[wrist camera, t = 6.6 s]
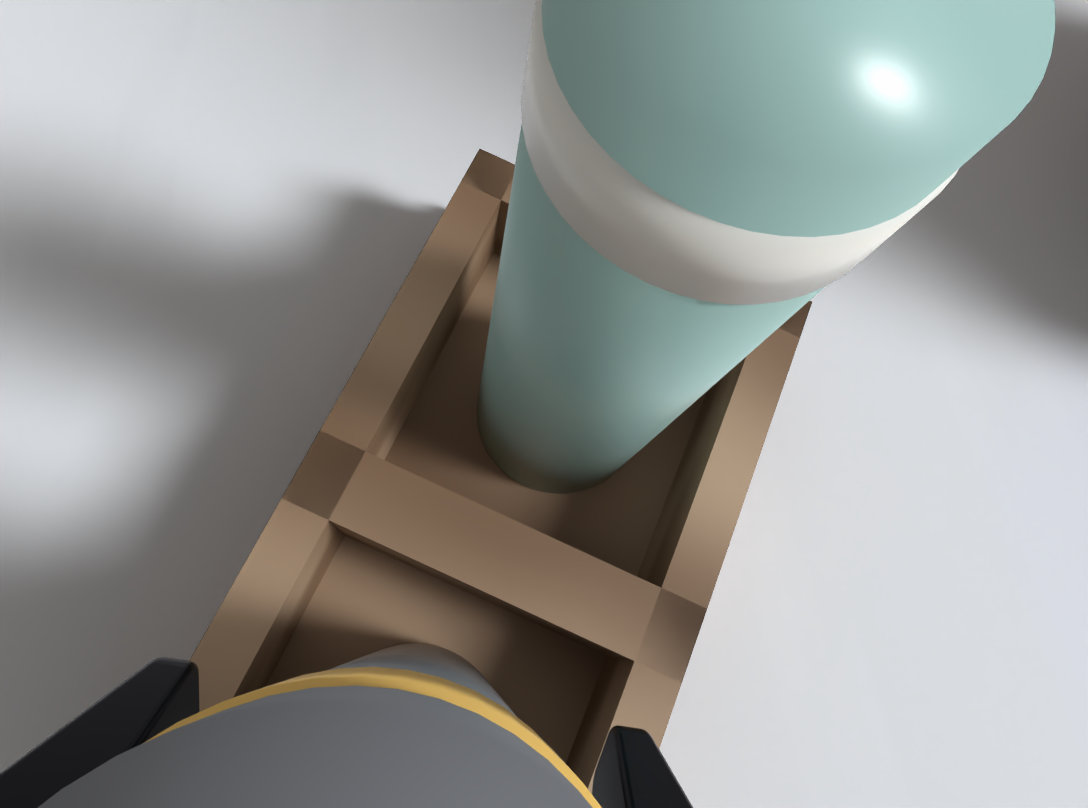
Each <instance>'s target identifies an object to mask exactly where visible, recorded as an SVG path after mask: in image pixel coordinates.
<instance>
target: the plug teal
mask: <svg viewBox="0 0 1088 808" xmlns="http://www.w3.org/2000/svg"><path fill="white" fill-rule="evenodd" d="M1054 34H1055V2H1054V0H536V2H535V8H534V15H533V22H532V28H531V35H530V42H529V48H528V55H527V62H526V68H525V75H524V82H523V91H522V99H521V112H522V125H521V132H520V138H519V144H518V150H517V157H516V163H515V169H514V176H513V182H512V188H511V194H510V201H509V207H508V213H507V219H506V226H505V232H504V238H503V245H502V251H501V257H500V263H499V270H498V276H497V282H496V288H495V295H494V301H493V307H492V314H491V320H490V326H489V332H488V339H487V345H486V351H485V357H484V364H483V370H482V376H481V382H480V389H479V395H478V402H477V423H478V429H479V433H480V436H481V439H482V442H483V444H484V446H485V448H486V450H487V452H488V453H489V455H490V457H491V458H492V460H493V461H494V462H495V463H496V464H497V466H498V467H499V468H500V469H501V470H502V471H503V472H504V473H506V474H507V475H508V476H509V477H511V478H512V479H514V480H515V481H517V482H518V483H520V484H522V485H524V486H526V487H529V488H531V489H534V490H537V491H541V492H545V493H553V494H569V493H575V492H580V491H583V490H587V489H590V488H592V487H594V486H596V485H598V484H600V483H602V482H603V481H605V480H606V479H608V478H609V477H610V476H611V475H612V474H614V473H615V472H616V471H617V470H618V469H619V468H621V467H622V466H623V465H624V464H625V463H626V462H627V461H628V460H630V459H631V458H632V457H633V456H634V455H635V454H636V453H637V452H639V451H640V450H641V449H642V448H643V447H644V446H645V445H647V444H648V443H649V442H650V441H651V440H652V439H653V438H654V437H656V436H657V435H658V434H659V433H660V432H661V431H662V430H664V429H665V428H666V427H667V426H668V425H669V424H670V423H671V422H673V421H674V420H675V419H676V418H677V417H678V416H679V415H681V414H682V413H683V412H684V411H685V410H686V409H687V408H688V407H690V406H691V405H692V404H693V403H694V402H695V401H696V400H697V399H699V398H700V397H701V396H702V395H703V394H704V393H705V392H707V391H708V390H709V389H710V388H711V387H712V386H713V385H714V384H716V383H717V382H718V381H719V380H720V379H721V378H722V377H724V376H725V375H726V374H727V373H728V372H729V371H730V370H731V369H733V368H734V367H735V366H736V365H737V364H738V363H739V362H741V361H742V360H743V359H744V358H745V357H746V356H747V355H748V354H750V353H751V352H752V351H753V350H754V349H755V348H756V347H757V346H759V345H760V344H761V343H762V342H763V341H764V340H765V339H767V338H768V337H769V336H770V335H771V334H772V333H773V332H774V331H776V330H777V329H778V328H779V327H780V326H781V325H782V324H784V323H785V322H786V321H787V320H788V319H789V318H790V317H791V316H793V315H794V314H795V313H796V312H797V311H798V310H799V309H800V308H802V307H803V306H804V305H805V304H806V303H807V302H808V301H810V300H811V299H812V298H813V297H814V296H815V295H816V294H817V293H819V292H820V291H821V290H822V289H823V288H824V287H826V286H827V285H829V284H831V283H832V282H834V281H836V280H837V279H839V278H841V277H842V276H844V275H846V274H847V273H848V272H849V271H850V270H852V269H853V268H854V267H855V266H856V265H858V264H859V263H860V262H861V261H862V260H864V259H865V258H866V257H867V256H868V255H869V254H870V253H872V252H873V251H874V250H875V249H876V248H877V247H879V246H880V245H881V244H882V243H883V242H884V241H885V240H887V239H888V238H889V237H890V236H891V235H892V234H894V233H895V232H896V231H897V230H898V229H899V228H900V227H902V226H903V225H904V224H905V223H906V222H907V221H908V220H910V219H911V218H912V217H913V216H914V215H915V214H917V213H918V212H919V211H920V210H921V209H922V208H923V207H925V206H926V205H927V204H928V203H929V202H930V201H932V200H933V199H934V198H935V197H936V196H937V195H938V194H940V193H941V191H942V190H943V189H944V188H945V187H946V185H947V184H948V183H949V182H950V181H951V180H952V178H953V177H954V176H955V175H956V173H957V171H958V170H959V168H960V167H961V166H962V165H963V164H965V163H966V162H967V161H968V160H969V159H970V158H971V157H973V156H974V155H975V154H976V153H977V152H978V151H979V150H980V149H982V148H983V147H984V146H985V145H986V144H987V143H988V142H990V141H991V140H992V139H993V138H994V137H995V136H996V135H997V134H999V133H1000V132H1001V131H1002V130H1003V129H1004V128H1005V127H1007V126H1008V125H1009V124H1010V123H1011V122H1012V121H1013V120H1014V119H1015V118H1016V117H1017V116H1018V115H1019V113H1020V112H1021V111H1022V110H1023V109H1024V107H1025V106H1026V105H1027V104H1028V103H1029V102H1030V100H1031V99H1032V97H1033V95H1034V93H1035V92H1036V90H1037V88H1038V86H1039V85H1040V83H1041V81H1042V79H1043V77H1044V74H1045V71H1046V69H1047V66H1048V63H1049V60H1050V57H1051V53H1052V47H1053V41H1054Z"/></svg>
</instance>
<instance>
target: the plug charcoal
mask: <svg viewBox="0 0 1088 808" xmlns="http://www.w3.org/2000/svg"><path fill="white" fill-rule="evenodd" d="M38 808H602V807H601V806H600V804H599V803H598V802H597V800H596V799H595V798H594V797H593V795H592V794H591V793H590V791H589V790H588V789H587V787H586V786H585V785H584V784H583V782H582V781H581V780H580V779H579V778H578V777H577V776H576V775H575V774H574V772H573V771H572V770H571V769H570V768H569V767H568V766H567V765H566V764H565V762H564V761H563V760H562V759H561V758H560V757H559V756H558V755H557V754H556V753H555V751H554V750H553V749H552V748H551V747H550V746H549V745H548V744H547V743H546V742H545V741H544V740H543V739H542V738H541V737H540V736H539V735H538V734H537V733H536V732H535V731H534V730H533V729H532V728H531V727H529V726H528V725H527V724H525V723H524V722H523V721H521V720H520V719H519V718H518V717H517V716H516V715H515V714H514V713H513V711H512V710H511V709H510V708H509V707H508V705H507V704H506V703H505V702H504V701H503V699H502V698H501V697H500V696H499V695H498V693H497V692H496V691H495V690H494V688H493V687H492V686H491V685H490V684H489V682H488V681H487V680H486V679H485V678H484V676H483V675H482V674H481V673H480V672H479V671H478V670H477V669H476V668H475V667H474V666H473V665H472V664H471V663H470V662H468V661H467V660H466V659H464V658H463V657H461V656H460V655H458V654H456V653H454V652H453V651H450V650H448V649H445V648H443V647H439V646H435V645H431V644H423V643H405V644H399V645H394V646H390V647H387V648H384V649H381V650H378V651H376V652H373V653H371V654H368V655H365V656H363V657H360V658H358V659H355V660H352V661H350V662H347V663H345V664H342V665H339V666H337V667H334V668H332V669H329V670H326V671H321V672H316V673H310V674H305V675H301V676H298V677H295V678H291V679H288V680H285V681H282V682H279V683H276V684H272V685H269V686H266V687H263V688H260V689H258V690H255V691H252V692H249V693H246V694H243V695H240V696H237V697H234V698H231V699H229V700H226V701H223V702H221V703H218V704H216V705H214V706H212V707H210V708H207V709H205V710H203V711H201V712H199V713H197V714H194V715H192V716H190V717H188V718H186V719H183V720H181V721H179V722H177V723H175V724H174V725H172V726H170V727H169V728H167V729H166V730H164V731H162V732H161V733H159V734H157V735H156V736H154V737H152V738H151V739H149V740H147V741H146V742H144V743H143V744H141V745H139V746H137V747H134V748H132V749H130V750H128V751H126V752H124V753H121V754H119V755H117V756H115V757H114V758H112V759H110V760H109V761H107V762H105V763H104V764H102V765H101V766H99V767H97V768H96V769H94V770H92V771H91V772H89V773H87V774H86V775H84V776H82V777H81V778H79V779H77V780H76V781H74V782H73V783H71V784H69V785H68V786H66V787H64V788H63V789H61V790H60V791H59V792H57V793H56V794H55V795H53V796H52V797H51V798H49V799H48V800H47V801H46V802H44V803H43V804H42V805H40V806H39V807H38Z"/></svg>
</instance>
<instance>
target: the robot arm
mask: <svg viewBox="0 0 1088 808" xmlns="http://www.w3.org/2000/svg"><path fill="white" fill-rule="evenodd" d="M199 712H200V707H199V670H198V666H197V664H196V663H195V662H192V661H187V660H181V659H174V658H167V657H161V658H157V659H155V660H153V661H151V662H150V663H149V664H147V665H146V666H144V667H143V668H142V669H140V670H139V671H138V672H136V673H135V674H134V675H132V676H131V677H130V678H128V679H127V680H126V681H124V682H123V683H122V684H120V685H119V686H118V687H116V688H115V689H114V690H112V691H111V692H109V693H108V694H107V695H105V696H104V697H103V698H101V699H100V700H99V701H97V702H96V703H95V704H93V705H92V706H91V707H89V708H88V709H87V710H85V711H84V712H83V713H81V714H80V715H78V716H77V717H76V718H74V719H73V720H72V721H70V722H69V723H68V724H66V725H65V726H64V727H62V728H61V729H60V730H58V731H57V732H56V733H54V734H53V735H52V736H50V737H49V738H47V739H46V740H45V741H43V742H42V743H41V744H39V745H38V746H37V747H35V748H34V749H33V750H31V751H30V752H29V753H27V754H26V755H25V756H23V757H22V758H21V759H19V760H18V761H16V762H15V763H14V764H12V765H11V766H10V767H8V768H7V769H6V770H4V771H3V772H2V773H0V808H38V807H39V806H40V805H42V804H43V803H44V802H46V801H47V800H48V799H49V798H51V797H52V796H53V795H55V794H56V793H57V792H59V791H60V790H61V789H63V788H64V787H66V786H68V785H69V784H71V783H73V782H74V781H76V780H77V779H79V778H81V777H82V776H84V775H86V774H87V773H89V772H91V771H92V770H94V769H96V768H97V767H99V766H101V765H102V764H104V763H105V762H107V761H109V760H110V759H112V758H114V757H115V756H117V755H119V754H121V753H124V752H126V751H128V750H130V749H132V748H134V747H137V746H139V745H141V744H143V743H144V742H146V741H147V740H149V739H151V738H152V737H154V736H156V735H157V734H159V733H161V732H162V731H164V730H166V729H167V728H169V727H170V726H172V725H174V724H175V723H177V722H179V721H181V720H183V719H186V718H188V717H190V716H192V715H194V714H197V713H199ZM592 795H593V797H594V798H595V799H596V800H597V802H598V803H599V804H600V806H601V807H602V808H693V807H692V805H691V803H690V801H689V800H688V798H687V796H686V795H685V793H684V791H683V789H682V788H681V786H680V784H679V783H678V781H677V779H676V777H675V776H674V774H673V772H672V771H671V769H670V767H669V766H668V764H667V762H666V760H665V759H664V757H663V755H662V754H661V752H660V750H659V748H658V747H657V745H656V743H655V742H654V740H653V738H652V737H651V735H650V734H649V733H648V732H647V731H646V730H643V729H640V728H633V727H626V726H620V725H617V726H614V727H612V728H611V730H610V731H609V733H608V736H607V739H606V742H605V744H604V747H603V750H602V753H601V756H600V758H599V761H598V764H597V767H596V770H595V774H594V779H593V787H592Z"/></svg>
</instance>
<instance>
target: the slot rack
mask: <svg viewBox="0 0 1088 808" xmlns="http://www.w3.org/2000/svg"><path fill="white" fill-rule="evenodd" d="M514 169H515V165H514V164H512V163H510V162H508V161H506V160H503V159H501V158H499V157H497V156H495V155H493V154H490V153H488V152H486V151H484V150H482V149H479V151H478V153H477V154H476V156H475V158H474V160H473V161H472V163H471V165H470V167H469V168H468V170H467V172H466V174H465V176H464V177H463V179H462V181H461V183H460V184H459V186H458V188H457V190H456V191H455V193H454V195H453V197H452V198H451V200H450V202H449V204H448V205H447V207H446V209H445V211H444V213H443V214H442V216H441V218H440V220H439V221H438V223H437V225H436V227H435V228H434V230H433V232H432V234H431V235H430V237H429V239H428V241H427V243H426V244H425V246H424V248H423V250H422V251H421V253H420V255H419V257H418V258H417V260H416V262H415V264H414V265H413V267H412V269H411V271H410V273H409V274H408V276H407V278H406V280H405V281H404V283H403V285H402V287H401V288H400V290H399V292H398V294H397V295H396V297H395V299H394V301H393V302H392V304H391V306H390V308H389V310H388V311H387V313H386V315H385V317H384V318H383V320H382V322H381V324H380V325H379V327H378V329H377V331H376V332H375V334H374V336H373V338H372V340H371V341H370V343H369V345H368V347H367V348H366V350H365V352H364V354H363V355H362V357H361V359H360V361H359V362H358V364H357V366H356V368H355V370H354V371H353V373H352V375H351V377H350V378H349V380H348V382H347V384H346V385H345V387H344V389H343V391H342V392H341V394H340V396H339V398H338V400H337V401H336V403H335V405H334V407H333V408H332V410H331V412H330V414H329V415H328V417H327V419H326V421H325V422H324V424H323V426H322V428H321V429H320V431H319V433H318V435H317V437H316V438H315V440H314V442H313V444H312V445H311V447H310V449H309V451H308V452H307V454H306V456H305V458H304V459H303V461H302V463H301V465H300V467H299V468H298V470H297V472H296V474H295V475H294V477H293V479H292V481H291V482H290V484H289V486H288V488H287V489H286V491H285V493H284V495H283V497H282V498H281V500H280V502H279V504H278V505H277V507H276V509H275V511H274V512H273V514H272V516H271V518H270V519H269V521H268V523H267V525H266V526H265V528H264V530H263V532H262V534H261V535H260V537H259V539H258V541H257V542H256V544H255V546H254V548H253V549H252V551H251V553H250V555H249V556H248V558H247V560H246V562H245V564H244V565H243V567H242V569H241V571H240V572H239V574H238V576H237V578H236V579H235V581H234V583H233V585H232V586H231V588H230V590H229V592H228V594H227V595H226V597H225V599H224V601H223V602H222V604H221V606H220V608H219V609H218V611H217V613H216V615H215V616H214V618H213V620H212V622H211V624H210V625H209V627H208V629H207V631H206V632H205V634H204V636H203V638H202V639H201V641H200V643H199V645H198V646H197V648H196V650H195V652H194V653H193V655H192V657H191V659H190V661H192V662H195V663H196V664H197V666H198V670H199V707H200V712H201V711H203V710H205V709H207V708H210V707H212V706H214V705H216V704H218V703H221V702H223V701H226V700H229V699H231V698H234V697H237V696H240V695H243V694H246V693H249V692H252V691H255V690H258V689H260V688H263V687H266V686H269V685H272V684H276V683H279V682H282V681H285V680H288V679H291V678H295V677H298V676H301V675H305V674H310V673H316V672H321V671H326V670H329V669H332V668H334V667H337V666H339V665H342V664H345V663H347V662H350V661H352V660H355V659H358V658H360V657H363V656H365V655H368V654H371V653H373V652H376V651H378V650H381V649H384V648H387V647H390V646H394V645H399V644H405V643H423V644H431V645H435V646H439V647H443V648H445V649H448V650H450V651H453V652H454V653H456V654H458V655H460V656H461V657H463V658H464V659H466V660H467V661H468V662H470V663H471V664H472V665H473V666H474V667H475V668H476V669H477V670H478V671H479V672H480V673H481V674H482V675H483V676H484V678H485V679H486V680H487V681H488V682H489V684H490V685H491V686H492V687H493V688H494V690H495V691H496V692H497V693H498V695H499V696H500V697H501V698H502V699H503V701H504V702H505V703H506V704H507V705H508V707H509V708H510V709H511V710H512V711H513V713H514V714H515V715H516V716H517V717H518V718H519V719H520V720H521V721H523V722H524V723H525V724H527V725H528V726H529V727H531V728H532V729H533V730H534V731H535V732H536V733H537V734H538V735H539V736H540V737H541V738H542V739H543V740H544V741H545V742H546V743H547V744H548V745H549V746H550V747H551V748H552V749H553V750H554V751H555V753H556V754H557V755H558V756H559V757H560V758H561V759H562V760H563V761H564V762H565V764H566V765H567V766H568V767H569V768H570V769H571V770H572V771H573V772H574V774H575V775H576V776H577V777H578V778H579V779H580V780H581V781H582V782H583V784H584V785H585V786H586V787H587V789H588V790H589V791H590V793H591V794H592V787H593V779H594V774H595V770H596V767H597V764H598V761H599V758H600V756H601V753H602V750H603V747H604V744H605V742H606V739H607V736H608V733H609V731H610V730H611V728H612V727H614V726H617V725H620V726H626V727H633V728H640V729H643V730H646V731H647V732H648V733H649V734H650V735H651V737H652V738H653V740H654V742H655V743H656V745H657V747H658V748H659V747H660V745H661V742H662V739H663V736H664V733H665V730H666V727H667V724H668V721H669V718H670V715H671V712H672V709H673V707H674V704H675V701H676V698H677V695H678V692H679V689H680V686H681V683H682V680H683V677H684V674H685V672H686V669H687V666H688V663H689V660H690V657H691V654H692V651H693V648H694V645H695V642H696V639H697V637H698V634H699V631H700V628H701V625H702V622H703V619H704V616H705V613H706V610H707V607H708V604H709V602H710V599H711V596H712V593H713V590H714V587H715V584H716V581H717V578H718V575H719V572H720V569H721V566H722V564H723V561H724V558H725V555H726V552H727V549H728V546H729V543H730V540H731V537H732V534H733V531H734V529H735V526H736V523H737V520H738V517H739V514H740V511H741V508H742V505H743V502H744V499H745V496H746V494H747V491H748V488H749V485H750V482H751V479H752V476H753V473H754V470H755V467H756V464H757V461H758V459H759V456H760V453H761V450H762V447H763V444H764V441H765V438H766V435H767V432H768V429H769V426H770V423H771V421H772V418H773V415H774V412H775V409H776V406H777V403H778V400H779V397H780V394H781V391H782V388H783V386H784V383H785V380H786V377H787V374H788V371H789V368H790V365H791V362H792V359H793V356H794V353H795V351H796V348H797V345H798V342H799V339H800V336H801V333H802V330H803V327H804V324H805V321H806V318H807V316H808V313H809V310H810V307H811V304H812V302H811V301H808V302H807V303H806V304H805V305H804V306H803V307H802V308H800V309H799V310H798V311H797V312H796V313H795V314H794V315H793V316H791V317H790V318H789V319H788V320H787V321H786V322H785V323H784V324H782V325H781V326H780V327H779V328H778V329H777V330H776V331H774V332H773V333H772V334H771V335H770V336H769V337H768V338H767V339H765V340H764V341H763V342H762V343H761V344H760V345H759V346H757V347H756V348H755V349H754V350H753V351H752V352H751V353H750V354H748V355H747V356H746V357H745V358H744V359H743V360H742V361H741V362H739V363H738V364H737V365H736V366H735V367H734V368H733V369H731V370H730V371H729V372H728V373H727V374H726V375H725V376H724V377H722V378H721V379H720V380H719V381H718V382H717V383H716V384H714V385H713V386H712V387H711V388H710V389H709V390H708V391H707V392H705V393H704V394H703V395H702V396H701V397H700V398H699V399H697V400H696V401H695V402H694V403H693V404H692V405H691V406H690V407H688V408H687V409H686V410H685V411H684V412H683V413H682V414H681V415H679V416H678V417H677V418H676V419H675V420H674V421H673V422H671V423H670V424H669V425H668V426H667V427H666V428H665V429H664V430H662V431H661V432H660V433H659V434H658V435H657V436H656V437H654V438H653V439H652V440H651V441H650V442H649V443H648V444H647V445H645V446H644V447H643V448H642V449H641V450H640V451H639V452H637V453H636V454H635V455H634V456H633V457H632V458H631V459H630V460H628V461H627V462H626V463H625V464H624V465H623V466H622V467H621V468H619V469H618V470H617V471H616V472H615V473H614V474H612V475H611V476H610V477H609V478H608V479H606V480H605V481H603V482H602V483H600V484H598V485H596V486H594V487H592V488H590V489H587V490H583V491H580V492H575V493H569V494H553V493H545V492H541V491H537V490H534V489H531V488H529V487H526V486H524V485H522V484H520V483H518V482H517V481H515V480H514V479H512V478H511V477H509V476H508V475H507V474H506V473H504V472H503V471H502V470H501V469H500V468H499V467H498V466H497V464H496V463H495V462H494V461H493V460H492V458H491V457H490V455H489V453H488V452H487V450H486V448H485V446H484V444H483V442H482V439H481V436H480V433H479V429H478V423H477V402H478V395H479V389H480V382H481V376H482V370H483V364H484V357H485V351H486V345H487V339H488V332H489V326H490V320H491V314H492V307H493V301H494V295H495V288H496V282H497V276H498V270H499V263H500V257H501V251H502V245H503V238H504V232H505V226H506V219H507V213H508V207H509V201H510V194H511V188H512V182H513V176H514Z"/></svg>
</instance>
